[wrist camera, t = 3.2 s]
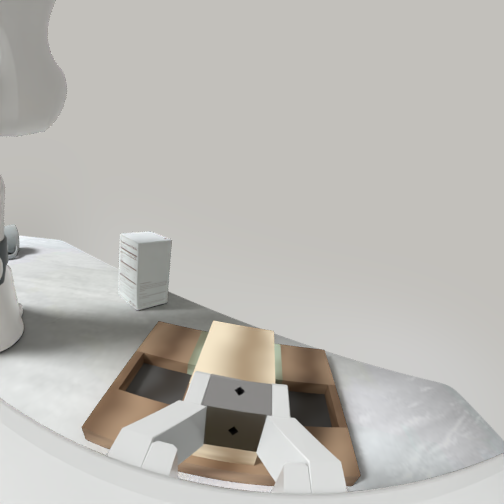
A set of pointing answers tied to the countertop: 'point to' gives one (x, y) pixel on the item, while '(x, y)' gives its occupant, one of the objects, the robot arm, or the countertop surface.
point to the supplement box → (144, 269)
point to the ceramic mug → (12, 240)
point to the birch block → (236, 371)
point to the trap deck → (176, 386)
